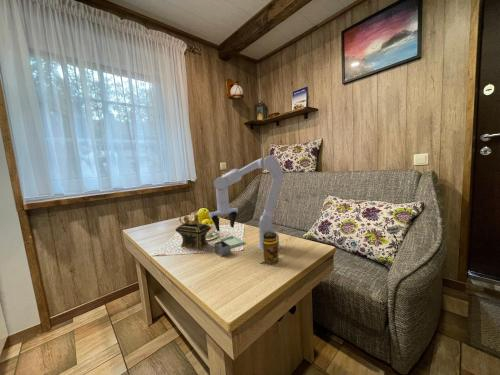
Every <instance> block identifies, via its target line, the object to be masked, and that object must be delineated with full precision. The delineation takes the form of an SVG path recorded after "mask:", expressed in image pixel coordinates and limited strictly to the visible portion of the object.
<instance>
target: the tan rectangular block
mask: <svg viewBox="0 0 500 375" xmlns="http://www.w3.org/2000/svg"><path fill="white" fill-rule="evenodd" d="M218 245H219V246H220V247H222V244H221V243H220V244H218ZM213 253H214V254H216V255H217V256H219V257H220V259H221V258H224V257H228V256H231V255H233V252H231V254H229V255H226V256H223V257H222V256H221V255H219V254H218V253H217V252H216V251H215V250H213Z"/></svg>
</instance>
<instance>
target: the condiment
mask: <svg viewBox="0 0 500 375" xmlns="http://www.w3.org/2000/svg"><path fill="white" fill-rule="evenodd" d="M263 236H264V238H263V239H264V240H263V249H262V250H263V261H261V262H260V263H259V265H266V266H268V267H269V266H270V267H277V266H278V265H279V264H280V263H281V261H282V260H283V258H280V257H279V249H278V241H277V238H276V234H275V233H273V232H268V233H265V234H264V235H263Z"/></svg>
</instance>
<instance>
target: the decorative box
mask: <svg viewBox="0 0 500 375" xmlns="http://www.w3.org/2000/svg"><path fill="white" fill-rule="evenodd" d="M198 211H199V208H196V211H195V212H194V213H193V215H194V216H193V217H194V219H193V220H190V219H189V218H190V217H189V216H188V215H184V216H183V220H184V222H183V221H182V219H181V217H182V214H181V212H180V211H179V210H177V212H178V213H177V214H176V215H177V216H178V217H179V218H178V220H179V223H180V225H179V226H177V227H175V232H177V233H178V234H179V235H180V236H181V239H182V242H181V245H180V248H181V247H182V248H187V249H191V250H196V251H199V250H202V249H203V248H205V247H207V246H209V245H210V244H209V242H208V240H207V239H206V237H207V234H208V233H209V232H210V230H211V229H212V228H211V226H210V225H208V224H206V223H202V222H199V220H200V219H199V214H197V212H198Z"/></svg>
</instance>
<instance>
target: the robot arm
mask: <svg viewBox="0 0 500 375" xmlns="http://www.w3.org/2000/svg"><path fill="white" fill-rule="evenodd" d="M279 161H280V160H278V159H277V158H276V157H275V156H274V155H267V156H265V157H261V158H258V159H256V160H253V162H250V163H248V164H247V165H245V166H243V167H242V168H239V169H238V168H231V169H230V170H229V171H228V172H226V173H223V174H221V176H218V177H217V178H216V179H215V180H214V182H213V186H214V188H215V196H216V197H215V198H216V205H217V206H216V207H217V208H216V209H217V210H216V211H212V212H209V213H208V217H209V218H210V219H211V220H212V222H213V224H214V226H215V230H216V231H217V232H220V230H221V229H220V217H219V216H224V215H228V218H229V224H230V227H231V228H233V229H234V228H235V222H236V218H237V216H238V213H239V210H238V209H239V208H238V207H233V208H232V207H231V208H230V200H229V191H228V190H229V189H228V186H232V185H233V184H235V183H237V182H239V181H241V180H242V177H243V176H244V175H246V174H248V173H251V172H252V171H254V170H257V169H264V168H265V169H266V170H267V171H268V172H269V173H270V174H271V176H272V180H271V185H270V188H269V193H268V196H267V198H266V202H265V205H264V209H263V212H262V215H260V217H259V223H258V235H259V236H258V237H259V244H258V245H256V247H257V248H259V249H261V250H263V240H264V239H263V238H264V236H263V235H264V234H265V233H268V232H273V233H275V234H276V238H277V241H278V250H280V249H281V248H282V247H281V246H280V236H279V234H278V233H277V232H276V231H275V227H274V226H273V218H274V212H275V209H276V207H277V206H276V205H277V201H278V197H279V194H280V190H281V188H282V183H283V180H284V177H285V176H284V175H285V174H284V171H283V169H282V166H281V163H280V162H279Z"/></svg>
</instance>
